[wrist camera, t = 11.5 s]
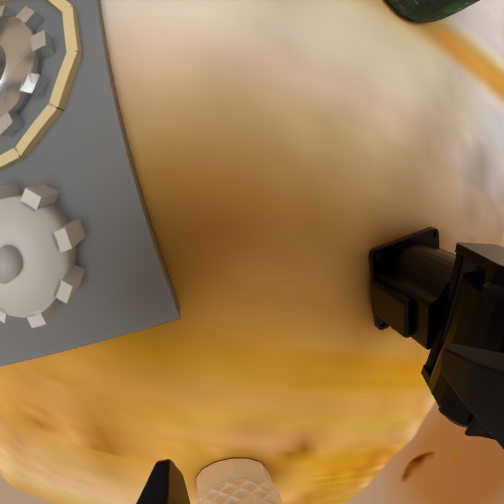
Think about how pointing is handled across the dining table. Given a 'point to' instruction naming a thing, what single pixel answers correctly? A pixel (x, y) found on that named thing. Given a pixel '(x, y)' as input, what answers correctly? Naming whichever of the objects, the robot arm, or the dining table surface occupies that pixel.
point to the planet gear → (20, 65)
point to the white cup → (236, 483)
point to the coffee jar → (429, 8)
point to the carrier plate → (74, 205)
